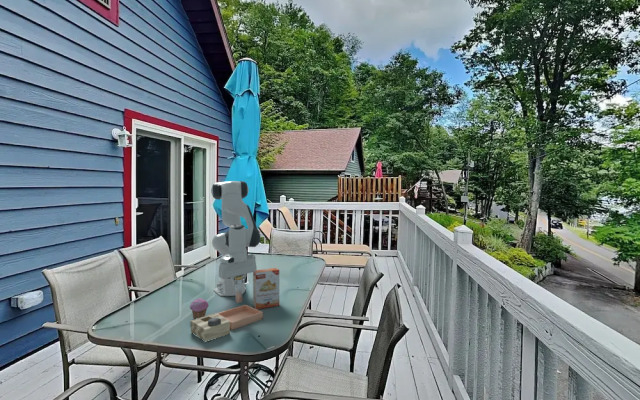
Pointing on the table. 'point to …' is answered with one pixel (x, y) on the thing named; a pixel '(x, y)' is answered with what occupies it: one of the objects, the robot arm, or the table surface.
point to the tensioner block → (210, 327)
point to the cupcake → (199, 308)
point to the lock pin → (239, 289)
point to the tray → (241, 316)
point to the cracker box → (266, 288)
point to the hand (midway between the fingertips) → (238, 283)
